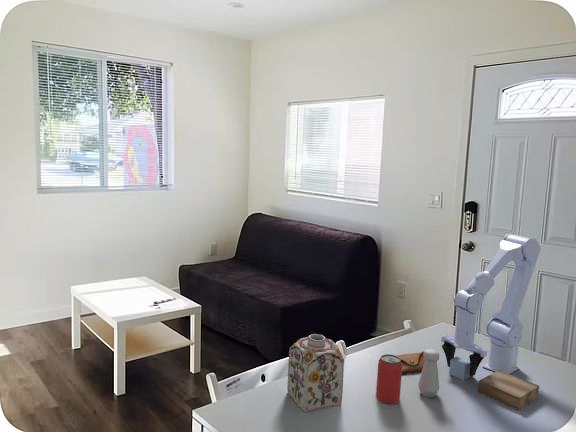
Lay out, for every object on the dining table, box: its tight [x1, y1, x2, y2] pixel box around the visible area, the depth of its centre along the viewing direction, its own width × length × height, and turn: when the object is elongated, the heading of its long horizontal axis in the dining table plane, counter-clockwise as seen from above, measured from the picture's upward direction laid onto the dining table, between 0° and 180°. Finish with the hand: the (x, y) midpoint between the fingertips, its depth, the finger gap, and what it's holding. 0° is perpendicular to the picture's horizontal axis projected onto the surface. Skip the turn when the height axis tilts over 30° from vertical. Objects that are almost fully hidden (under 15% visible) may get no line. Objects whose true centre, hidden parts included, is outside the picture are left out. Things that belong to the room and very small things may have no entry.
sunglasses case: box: [378, 351, 426, 375], centre depth 156 cm, size 18×7×7 cm, turn 111°
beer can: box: [375, 353, 402, 405], centre depth 135 cm, size 7×7×12 cm
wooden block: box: [477, 370, 540, 411], centre depth 140 cm, size 12×12×4 cm
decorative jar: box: [286, 333, 345, 413], centre depth 132 cm, size 12×12×18 cm
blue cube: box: [448, 355, 472, 381], centre depth 152 cm, size 5×5×5 cm
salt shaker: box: [418, 348, 440, 398], centre depth 138 cm, size 6×6×13 cm
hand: (461, 370), depth 152 cm, fingers open, 7 cm apart
